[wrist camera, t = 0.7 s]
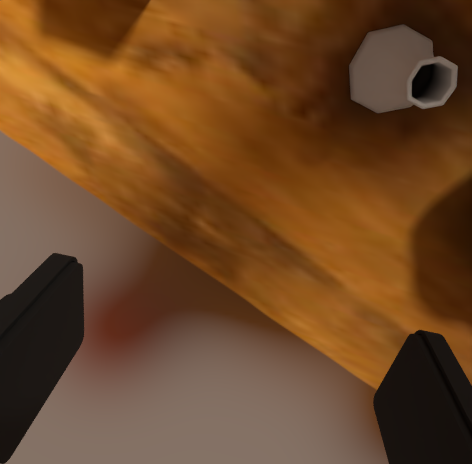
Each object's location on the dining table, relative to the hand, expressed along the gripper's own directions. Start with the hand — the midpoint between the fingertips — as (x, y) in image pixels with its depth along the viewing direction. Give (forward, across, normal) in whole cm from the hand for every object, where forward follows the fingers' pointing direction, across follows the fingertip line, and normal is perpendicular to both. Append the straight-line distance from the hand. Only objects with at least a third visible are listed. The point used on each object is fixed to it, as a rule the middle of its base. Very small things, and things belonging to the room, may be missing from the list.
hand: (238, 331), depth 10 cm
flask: (+29, -10, -7) cm, 31 cm away
